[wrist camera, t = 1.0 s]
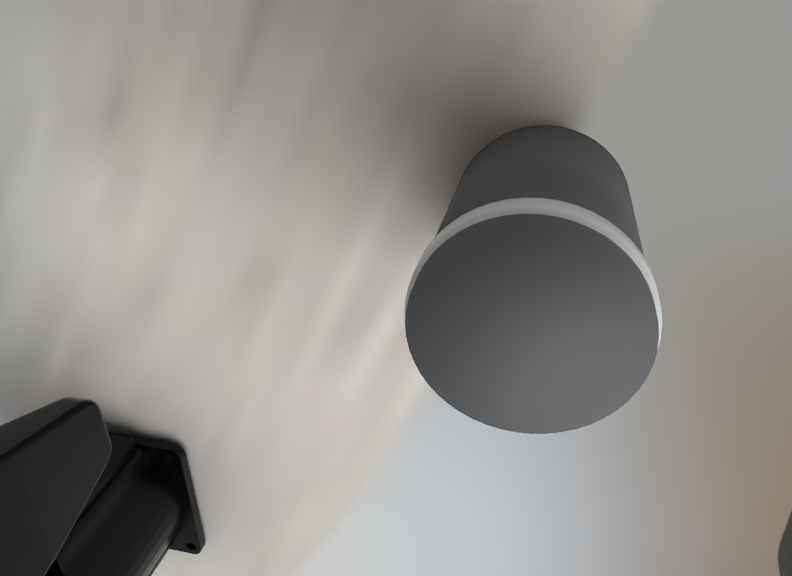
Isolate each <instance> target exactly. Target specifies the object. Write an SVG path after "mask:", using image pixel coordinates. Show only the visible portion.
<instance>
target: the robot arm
mask: <svg viewBox="0 0 792 576" xmlns="http://www.w3.org/2000/svg"><path fill="white" fill-rule="evenodd" d="M204 545H205V538H204V534H203V529H202V525H201V520H200V516H199V512H198V507H197V503H196V498H195V494H194V489H193V485H192V480H191V476H190V471H189V467H188V462H187V458H186V454H185V451H184V450H183V449H182V447H180V446H179V445H177V444H174V443H169V442H163V441H158V440H152V439H146V438H140V437H134V436H129V435H123V434H117V433H111V432H107V429H106V426H105V423H104V420H103V417H102V413H101V410H100V408H99V406H98V405H97V404H96V402H95V401H92V400H89V399H82V398H74V397H67V398H63V399H60V400H58V401H56V402H54V403H51V404H49V405H47V406H45V407H42V408H40V409H38V410H35V411H33V412H31V413H29V414H26V415H24V416H22V417H20V418H17V419H15V420H13V421H10V422H8V423H6V424H4V425H1V426H0V576H151V575H152V574H153V572H154V571H155V569H156V568H157V566H158V565H159V563H160V562H161V560H162V559H163V557H164V556H165V554H166V553H167V551H168V549H173V550H178V551H183V552H187V553H192V554H198V553H200V552H201V550H202V549H203V547H204ZM778 566H779V572H780V576H792V511H791V514H790V517H789V519H788V522H787V525H786V527H785V530H784V533H783V536H782V539H781V541H780V545H779V550H778Z"/></svg>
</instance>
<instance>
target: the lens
mask: <svg viewBox="0 0 792 576" xmlns="http://www.w3.org/2000/svg"><path fill="white" fill-rule="evenodd" d="M405 327H406V337H407V341H408V346H409V350H410V352H411V355H412V358H413V360H414V362H415V364H416V366H417V368H418V370H419V372H420V373H421V375H422V376H423V377H424V379H425V380H426V382H427V383H428V384H429V385H430V387H431V388H432V389H433V390H434V391H435V392H436V393H437V394H438V395H439V396H440V397H441V398H442V399H444V400H445V401H446V402H447V403H448V404H450V405H451V406H452V407H454V408H455V409H457V410H458V411H460V412H462V413H464V414H465V415H467V416H469V417H471V418H472V419H475V420H477V421H480V422H482V423H484V424H487V425H490V426H493V427H496V428H499V429H503V430H508V431H513V432H521V433H531V434H533V433H534V434H535V433H537V434H545V433H556V432H563V431H568V430H573V429H577V428H580V427H583V426H586V425H590V424H592V423H594V422H596V421H599V420H600V419H603V418H605V417H606V416H608V415H610V414H611V413H613V412H615V411H616V410H617V409H619V408H620V407H621V406H623V405H624V404H625V403H626V402H628V401H629V400H630V399H631V397H632V396H633V395H634V394H635V393H636V392H637V391H638V390H639V389H640V387H641V386H642V384H643V383H644V381H645V380H646V378H647V376H648V374H649V372H650V370H651V368H652V366H653V363H654V360H655V357H656V354H657V349H658V347H659V343H660V338H661V331H662V311H661V306H660V301H659V296H658V292H657V287H656V283H655V281H654V278H653V275H652V272H651V269H650V267H649V265H648V264H647V262H646V260H645V258H644V255H643V250H642V246H641V242H640V237H639V233H638V228H637V224H636V220H635V215H634V211H633V206H632V202H631V198H630V193H629V189H628V184H627V182H626V179H625V176H624V174H623V172H622V170H621V168H620V166H619V164H618V163H617V162H616V160H615V159H614V158H613V156H612V155H611V154H610V153H609V152H608V151H607V150H606V149H605V148H604V147H603V146H602V145H600V144H599V143H598V142H596V141H595V140H593V139H592V138H590V137H588V136H586V135H584V134H582V133H579V132H577V131H574V130H571V129H567V128H563V127H556V126H533V127H526V128H522V129H518V130H515V131H512V132H510V133H507V134H505V135H503V136H501V137H499V138H497V139H496V140H494V141H492V142H491V143H490V144H488V145H487V146H486V147H484V148H483V149H482V150H481V151H480V152H479V153H478V154H477V155H476V156H475V158H474V159H473V160H472V162H471V163H470V164H469V166H468V168H467V169H466V171H465V173H464V175H463V177H462V179H461V181H460V184H459V186H458V188H457V190H456V192H455V195H454V197H453V199H452V201H451V203H450V206H449V208H448V210H447V212H446V214H445V217H444V219H443V221H442V223H441V225H440V228H439V230H438V232H437V234H436V236H435V238H434V239H433V241H432V242H431V243H430V244H429V246H428V247H427V248H426V250H425V252H424V253H423V255H422V257H421V259H420V260H419V263H418V265H417V267H416V269H415V271H414V273H413V276H412V279H411V281H410V284H409V287H408V291H407V296H406V302H405Z"/></svg>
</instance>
